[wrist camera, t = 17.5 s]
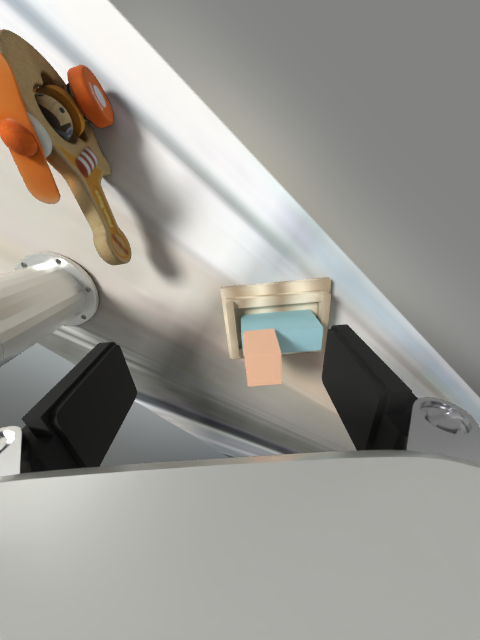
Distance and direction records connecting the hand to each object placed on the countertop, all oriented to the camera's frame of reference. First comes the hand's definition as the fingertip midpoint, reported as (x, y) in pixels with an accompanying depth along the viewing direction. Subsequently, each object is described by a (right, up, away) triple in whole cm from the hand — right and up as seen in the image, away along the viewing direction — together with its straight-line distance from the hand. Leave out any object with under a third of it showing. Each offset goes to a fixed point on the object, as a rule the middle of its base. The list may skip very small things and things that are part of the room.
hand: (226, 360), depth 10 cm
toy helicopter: (-18, +22, +20) cm, 35 cm away
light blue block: (+7, +1, +29) cm, 30 cm away
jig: (+7, +2, +30) cm, 31 cm away
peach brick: (+4, -2, +23) cm, 23 cm away
